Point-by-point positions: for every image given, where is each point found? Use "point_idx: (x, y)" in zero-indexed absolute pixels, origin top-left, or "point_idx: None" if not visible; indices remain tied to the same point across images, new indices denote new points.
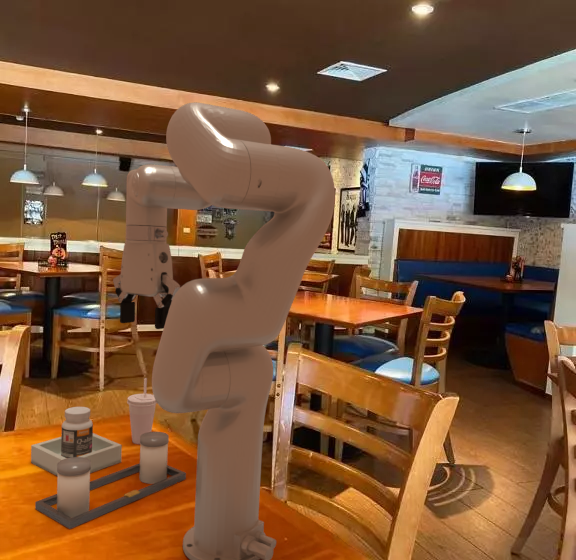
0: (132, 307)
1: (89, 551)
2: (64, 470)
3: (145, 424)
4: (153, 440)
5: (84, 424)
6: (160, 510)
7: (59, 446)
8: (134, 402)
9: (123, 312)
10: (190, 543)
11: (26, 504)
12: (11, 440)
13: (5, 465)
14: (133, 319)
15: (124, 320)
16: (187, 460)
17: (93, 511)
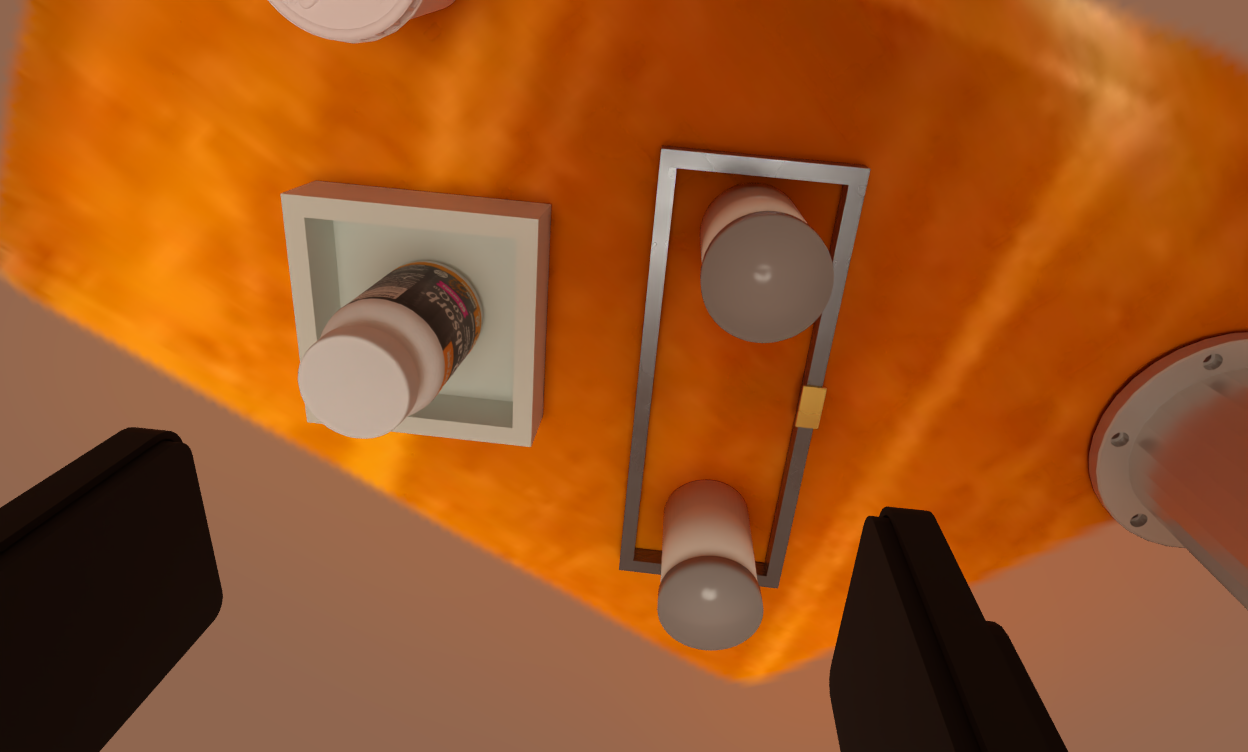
0: (16, 624)
1: None
2: (723, 647)
3: None
4: (794, 318)
5: (429, 375)
6: (923, 390)
7: (328, 318)
8: (364, 34)
9: (127, 717)
10: (1136, 513)
11: (580, 553)
12: (98, 313)
13: (304, 446)
14: (172, 474)
15: (201, 607)
16: (757, 3)
17: (789, 530)
